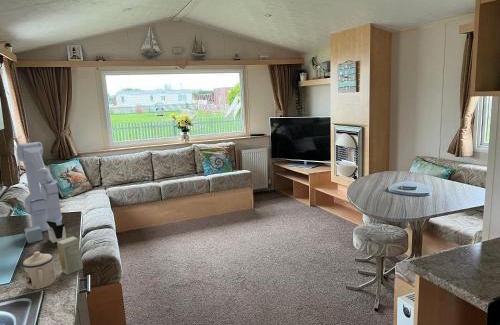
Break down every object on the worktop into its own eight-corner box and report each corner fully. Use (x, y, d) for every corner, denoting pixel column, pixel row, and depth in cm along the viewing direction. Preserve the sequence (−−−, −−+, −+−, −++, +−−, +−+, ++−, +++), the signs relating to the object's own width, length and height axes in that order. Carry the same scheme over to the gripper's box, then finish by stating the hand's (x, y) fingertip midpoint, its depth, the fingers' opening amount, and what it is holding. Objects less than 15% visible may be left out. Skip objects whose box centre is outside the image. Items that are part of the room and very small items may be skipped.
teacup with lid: (26, 282, 129) (20, 251, 127) (55, 274, 134) (50, 244, 132) (27, 297, 119) (21, 263, 117) (58, 288, 124) (53, 256, 122)
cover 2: (49, 239, 169) (47, 228, 168) (63, 235, 173) (61, 224, 172) (52, 242, 165) (50, 231, 164) (66, 239, 169) (64, 227, 168)
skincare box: (78, 265, 141) (73, 235, 138) (83, 268, 138) (79, 238, 136) (61, 272, 136) (56, 241, 134) (66, 275, 133) (61, 243, 131)
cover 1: (26, 240, 170) (24, 228, 169) (40, 236, 174) (38, 225, 173) (28, 243, 166) (26, 231, 165) (43, 239, 169) (41, 228, 168)
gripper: (39, 207, 169) (44, 234, 171) (47, 213, 158) (51, 243, 161) (56, 203, 173) (60, 230, 176) (64, 209, 163) (69, 238, 165)
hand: (57, 236), depth 169 cm, fingers closed on cover 2, 6 cm apart
